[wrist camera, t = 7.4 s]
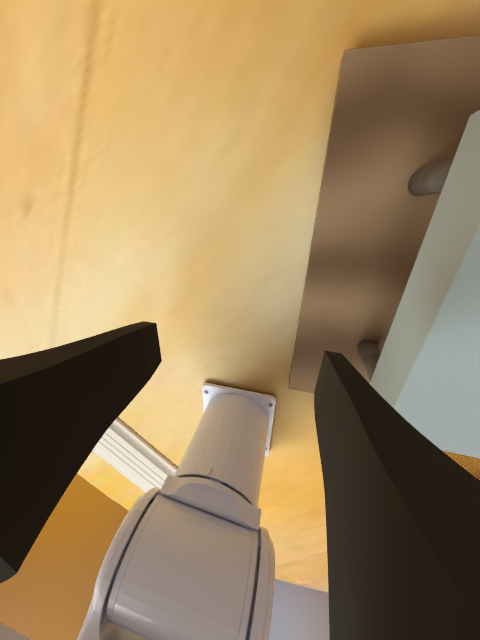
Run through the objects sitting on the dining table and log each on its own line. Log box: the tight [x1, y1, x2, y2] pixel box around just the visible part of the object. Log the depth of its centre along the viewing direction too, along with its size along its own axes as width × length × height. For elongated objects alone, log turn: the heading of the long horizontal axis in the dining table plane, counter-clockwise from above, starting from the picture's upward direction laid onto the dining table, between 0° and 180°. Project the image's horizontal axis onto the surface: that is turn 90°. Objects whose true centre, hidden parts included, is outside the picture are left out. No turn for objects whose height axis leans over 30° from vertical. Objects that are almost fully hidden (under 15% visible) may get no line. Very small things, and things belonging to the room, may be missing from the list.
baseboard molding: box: [92, 418, 178, 493], centre depth 35 cm, size 31×3×12 cm
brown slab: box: [289, 35, 480, 393], centre depth 13 cm, size 22×14×5 cm, turn 179°
